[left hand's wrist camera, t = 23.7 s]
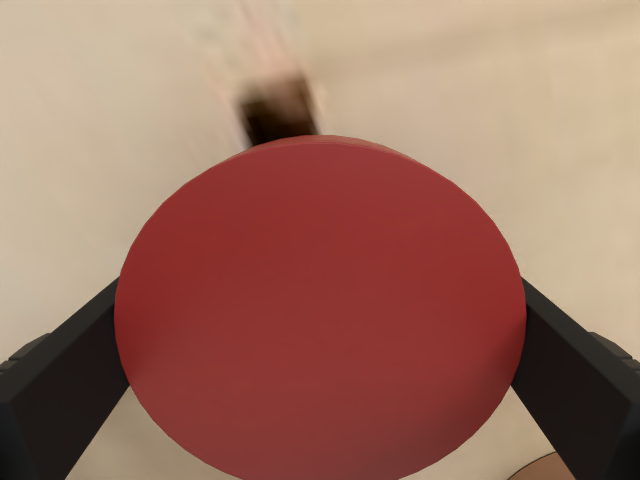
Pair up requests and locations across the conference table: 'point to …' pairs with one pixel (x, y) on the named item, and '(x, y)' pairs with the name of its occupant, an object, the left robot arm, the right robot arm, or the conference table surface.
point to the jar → (545, 470)
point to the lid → (320, 313)
